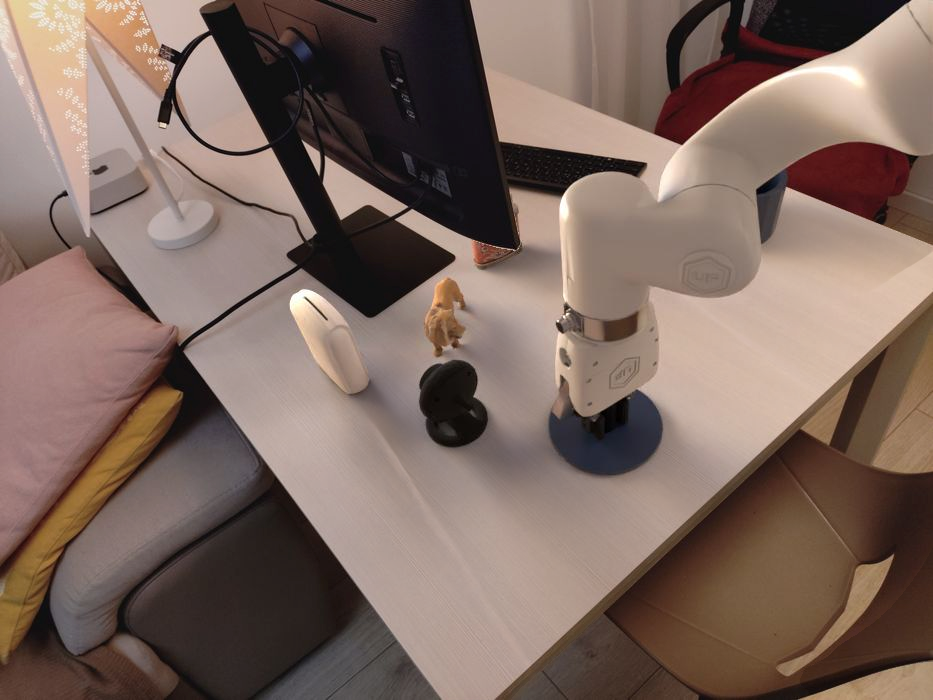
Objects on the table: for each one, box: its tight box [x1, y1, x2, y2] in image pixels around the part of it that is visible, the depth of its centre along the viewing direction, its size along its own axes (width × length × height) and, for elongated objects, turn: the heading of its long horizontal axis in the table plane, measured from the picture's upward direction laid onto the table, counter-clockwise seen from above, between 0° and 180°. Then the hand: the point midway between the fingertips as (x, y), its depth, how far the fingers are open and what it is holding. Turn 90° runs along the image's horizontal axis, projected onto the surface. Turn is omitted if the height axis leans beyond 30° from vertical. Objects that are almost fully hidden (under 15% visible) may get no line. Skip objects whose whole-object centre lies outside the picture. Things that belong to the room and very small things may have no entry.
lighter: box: [471, 193, 523, 271], centre depth 92 cm, size 8×3×10 cm, turn 119°
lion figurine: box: [423, 277, 467, 357], centre depth 83 cm, size 15×5×9 cm, turn 4°
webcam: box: [418, 359, 489, 448], centre depth 72 cm, size 8×8×10 cm
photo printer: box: [289, 289, 371, 395], centre depth 80 cm, size 10×4×12 cm, turn 39°
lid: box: [548, 388, 664, 475], centre depth 69 cm, size 13×13×7 cm
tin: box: [756, 168, 789, 245], centre depth 89 cm, size 12×12×8 cm
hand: (604, 422), depth 71 cm, fingers closed on lid, 2 cm apart
